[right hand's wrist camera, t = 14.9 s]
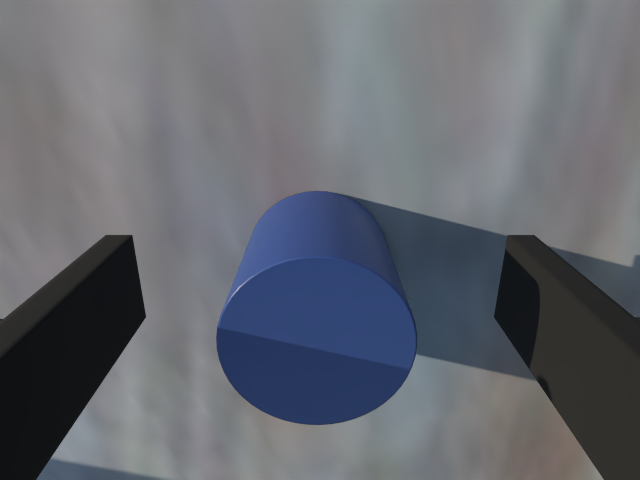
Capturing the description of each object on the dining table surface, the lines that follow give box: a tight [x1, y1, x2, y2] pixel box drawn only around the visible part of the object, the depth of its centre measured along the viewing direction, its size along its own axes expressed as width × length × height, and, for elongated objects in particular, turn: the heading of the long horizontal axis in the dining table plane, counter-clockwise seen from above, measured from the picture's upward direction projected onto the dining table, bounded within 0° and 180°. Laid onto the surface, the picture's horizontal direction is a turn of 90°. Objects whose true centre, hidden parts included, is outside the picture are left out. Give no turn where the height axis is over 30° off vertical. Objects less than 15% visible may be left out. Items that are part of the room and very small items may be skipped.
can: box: [216, 191, 417, 425], centre depth 12 cm, size 4×4×5 cm
